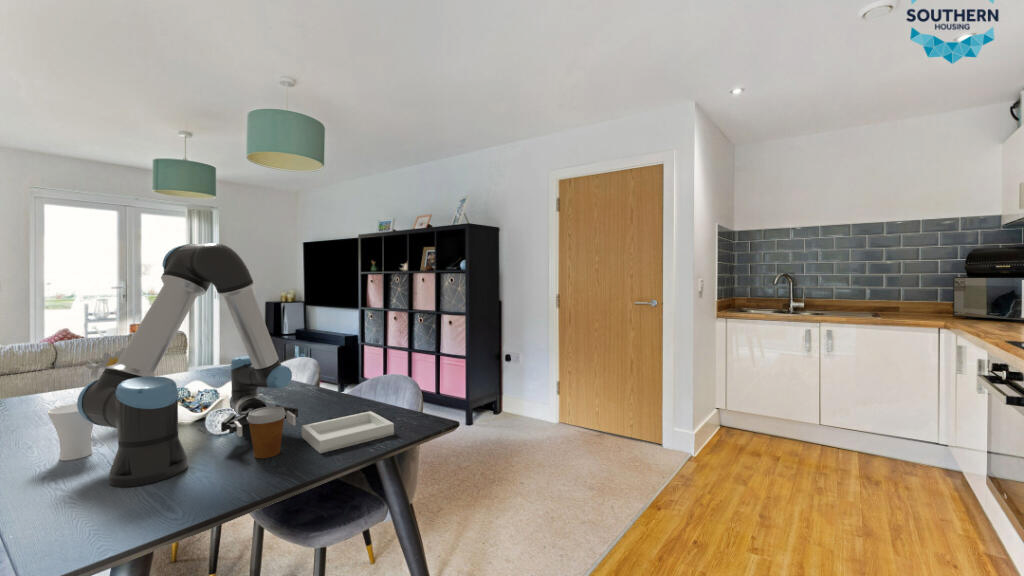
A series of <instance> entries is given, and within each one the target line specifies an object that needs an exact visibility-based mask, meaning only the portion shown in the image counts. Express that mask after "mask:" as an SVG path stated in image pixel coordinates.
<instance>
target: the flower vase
mask: <svg viewBox="0 0 1024 576" xmlns="http://www.w3.org/2000/svg"><path fill="white" fill-rule="evenodd" d="M125 349H126V347H121V348H120V351H118V349H116V350H115V352H114V354H113V355H112V354H110V352H104V353H102V354H103V355H102V357H103V359H104V361H102V362H99V363H98V364H97V363H94V362H93V361H91V360H90V359H88V358H87V357H85V360H86V361H87V363H85V367H86V368H87V369H88V370H91V372H90V376H91V378H92V379H93V378H95V379H97V378H98V373H99V369H101V370H102V371H104V370H105V368H106V367H108V366H111V365H114V364H116V363H117V362H118V360H119V359H120V357H121V355H122V354H123V352H124V350H125Z"/></svg>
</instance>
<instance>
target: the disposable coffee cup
mask: <svg viewBox="0 0 1024 576" xmlns="http://www.w3.org/2000/svg"><path fill="white" fill-rule="evenodd" d="M283 407H284V406H283ZM283 407H275V406H267V407H264V408H259V409H255V410H253V411H251V412H249V414H248V417H247V420H248V422H249V424H248V426H249V431H250V437H251V438H250V439H251V444H252V450H253V454H254V455H253V457H254V458H256V459H267V458H269V459H270V458H273V457H276V456H277V455H279V454H280V453H281V450H282V449H281V447H282V439H283V432H284V431H283V430H284V422H285V419H284V417H285V415H286V412H285V410H284V408H283Z"/></svg>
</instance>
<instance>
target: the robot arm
mask: <svg viewBox="0 0 1024 576" xmlns="http://www.w3.org/2000/svg"><path fill="white" fill-rule="evenodd" d="M162 267H163V273H162V275H161V277H160V280H161V281H162V287H161V289H160V290H159V291H158V294H157V295H156V297H155V299H154V301H153V302H152V303H151V305H150V307H149V309H148V311H147V312H146V313H145V315H144V317H143V319H142V320H141V322H140V324H139V325H138V327H137V329H136V330H135V332H134V333H133V335H132V337H131V339H130V340H129V342H128V344H127V345H126V347H125V348H126V349H125V350H124V352H123V354H122V355H121V357H120V359H119V360H118V362H117V363H116V364H114V365H111V366H108V367H106V368H105V369H104V370H103V372H102V373H101V375H100V377H99V378H98V379H95V380H93V381H92V382H90V383H88V384H87V385H86V386H85V387H84V388H83V389H82V390H81V391H80V393H79V395H78V397H77V402H76V404H77V408H78V411H79V413H80V415H81V416H82V417H83V418H84V419H86V420H87V421H89V422H92V423H93V425H96V426H101V427H109V428H112V429H113V428H115V429H117V443H118V444H117V445H118V448H117V451H116V453H115V454H116V455H115V456H114V460H113V462H112V464H111V468H110V470H109V473H108V474H109V475H108V476H109V477H108V479H109V480H108V481H109V484H110V485H111V486H112V487H113V486H114V487H118V488H131V487H140V486H144V485H150V484H154V483H156V482H161V481H164V480H168V479H169V478H172V477H174V476H176V475H179V474H180V473H182V472H183V471H184V470H186V469H187V468H188V464H189V463H188V461H189V460H188V455H187V453H186V451H185V449H184V447H183V443H182V442H181V440H180V437H179V408H178V406H179V404H178V403H179V402H178V400H179V399H178V398H179V391H178V386H177V382H175V381H174V379H172V378H169V377H165V376H156V374H155V372H156V371H157V369H158V367H159V366H160V364H161V362H162V360H163V358H164V357H165V354H166V353H167V351H168V349H169V347H170V346H171V344H172V342H173V340H174V339H175V336H176V334H177V333H178V331H179V330H180V327H182V325H183V322H184V321H185V319H186V317H187V316H188V314H189V312H190V309H191V308H192V307H193V304H194V302H195V301H196V299H197V298H198V297H201V296H204V295H206V293H207V291H208V289H209V287H210V286H211V284H212V285H213V286H214V287H215V290H216V292H217V294H219V295H221V296H222V297H223V298H224V301H225V303H226V305H227V307H228V308H227V309H228V311H229V313H230V315H231V318H232V320H233V322H234V325H235V326H236V329H237V332H238V334H239V336H240V339H241V341H242V344H243V346H244V349H245V351H246V353H247V355H241V356H236V357H234V358H232V359H231V362H230V366H231V367H230V377H231V379H230V380H231V381H230V382H231V392H230V394H231V396H230V398H229V406H230V408H231V410H232V409H234V411H235V412H236V413H235V412H234V411H233V412H231V413H229V416H228V417H226V418H225V419H224V420H223V421H221V422H220V427H221V428H220V429H221V431H220V432H222V433H225V432H227V431H228V434H231V435H232V434H234V433H236V435H237V436H238V438H239V437H243V425H249V422H248V420H247V417H248V414H249V412H251V411H253V410H255V409H259V408H264V407H268V406H267V404H266V403H265V402H264V401H263V400H262V399H261V398H260V397H259V396H258V395H259V394H258V388H263V389H269V390H282V389H285V388H286V387H287V386H289V384H290V383H291V381H292V379H293V374H292V373H293V372H292V370H291V368H290V367H288V366H286V365H284V364H282V363H281V361H280V359H279V356H278V353H277V351H276V348H275V345H274V343H273V340H272V337H271V335H270V333H269V329H268V327H267V325H266V321H265V320H264V317H263V314H262V312H261V309H260V306H259V304H258V301H257V298H256V296H255V293H254V291H253V285H254V280H253V277H252V275H251V273H250V270H249V269H248V267H247V265H246V264H245V262H244V260H243V259H242V257H241V256H240V255H239V254H238V253H237V252H236V251H235V249H234V250H233V249H232V248H231V247H230V246H227V245H225V244H223V243H220V242H219V243H218V242H217V243H216V242H210V243H198V244H197V243H196V244H195V243H187V244H181V245H178V246H175V247H173V248H172V249H170V250H169V251H168V252H167V253H165V255H164V258H163V259H162ZM274 407H283V408H284V410H285V412H286V415H285V417H284V420H286V421H287V422H288V423H289V424H290V425H292V426H297V424H296V423H297V422H296V421H297V418H298V417H299V408H298V407H290V406H282V405H279V404H276V405H275V406H274Z"/></svg>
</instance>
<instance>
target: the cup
mask: <svg viewBox="0 0 1024 576" xmlns="http://www.w3.org/2000/svg"><path fill="white" fill-rule="evenodd" d="M46 413H47V415H48V417H49V419H50V420H51V423H52V425H53V427H54V429H55V431H56V434H57V436H58V441H59V448H60V449H59V450H60V451H59V458H58V459H59V460H60V461H63V462H64V461H73V460H79V459H83V458H85V457H88V456H91V455H92V454H93V449H92V434H93V428H94V424H93V423H92V422H89V421H87V420H86V419H84V418H83V417H82V416H81V415H80V413H79V411H78V408H77V403H71V404H66V405H61V406H58V407H54V408H51V409H49V410H48V411H47V412H46Z"/></svg>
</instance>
